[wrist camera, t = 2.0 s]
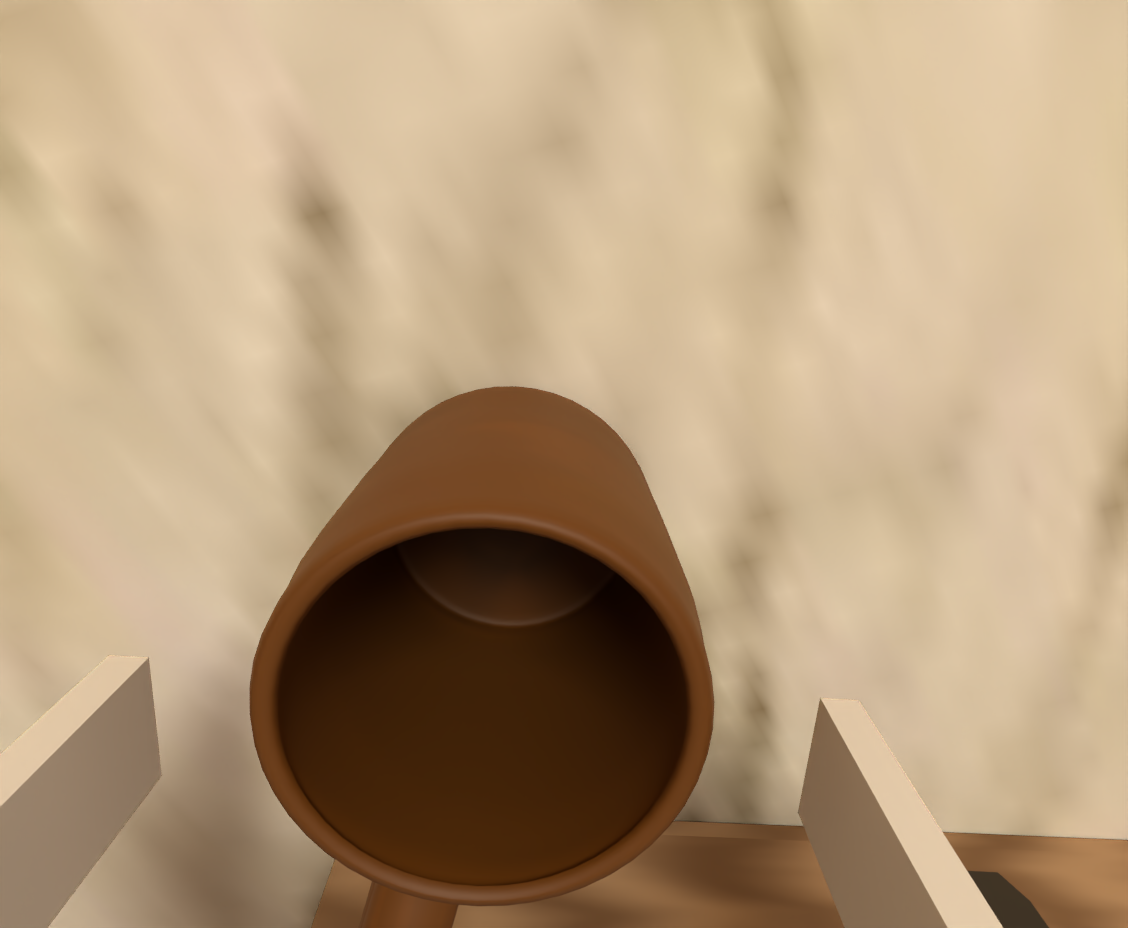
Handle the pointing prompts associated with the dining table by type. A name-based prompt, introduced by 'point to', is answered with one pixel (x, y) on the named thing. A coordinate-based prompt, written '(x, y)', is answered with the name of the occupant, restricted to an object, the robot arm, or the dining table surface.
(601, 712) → the mug
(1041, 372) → the dining table surface
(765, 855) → the crate
